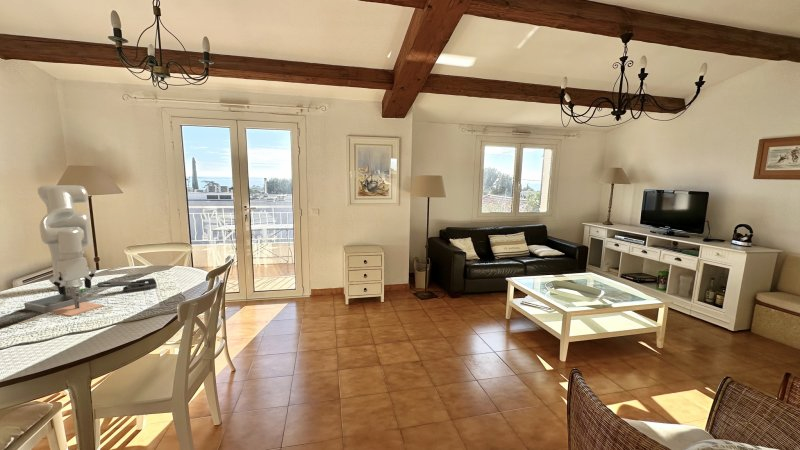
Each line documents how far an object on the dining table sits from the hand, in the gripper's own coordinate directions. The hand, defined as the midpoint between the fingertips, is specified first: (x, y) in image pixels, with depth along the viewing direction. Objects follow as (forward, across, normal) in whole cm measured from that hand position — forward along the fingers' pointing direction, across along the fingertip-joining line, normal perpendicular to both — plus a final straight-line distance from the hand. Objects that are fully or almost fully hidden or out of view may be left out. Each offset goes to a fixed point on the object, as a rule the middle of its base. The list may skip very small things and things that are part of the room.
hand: (75, 290), depth 155 cm
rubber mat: (+9, 0, 0) cm, 9 cm away
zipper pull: (+10, -26, -5) cm, 28 cm away
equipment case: (+9, -4, -15) cm, 18 cm away
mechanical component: (+9, 0, 0) cm, 9 cm away
